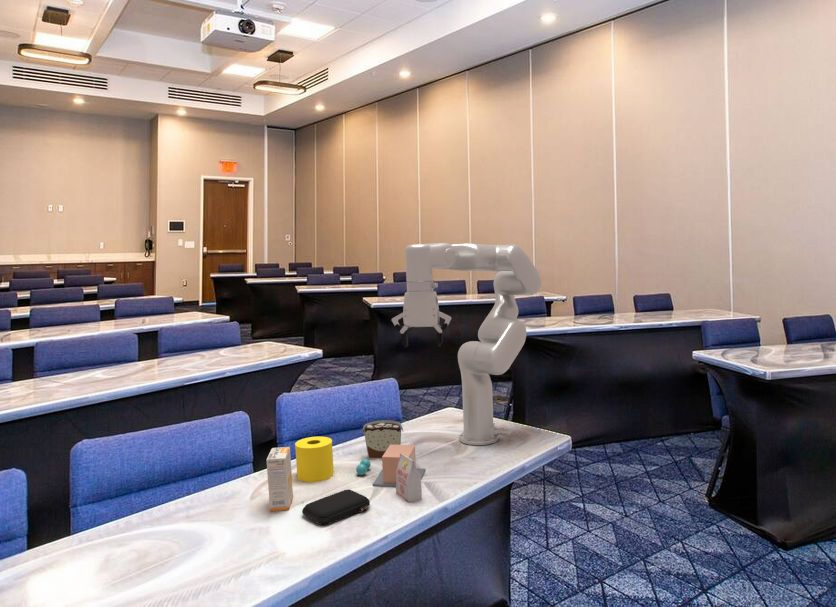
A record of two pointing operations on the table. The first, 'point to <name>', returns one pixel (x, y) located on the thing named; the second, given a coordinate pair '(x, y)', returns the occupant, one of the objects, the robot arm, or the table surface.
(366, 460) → the teal marble
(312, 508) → the carrying case or bag
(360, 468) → the teal marble
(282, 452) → the supplement box
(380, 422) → the food container
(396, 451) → the terracotta block
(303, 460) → the yellow toilet paper roll
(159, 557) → the table surface
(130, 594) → the table surface
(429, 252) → the robot arm
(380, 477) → the slate coaster
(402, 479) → the tea bag
